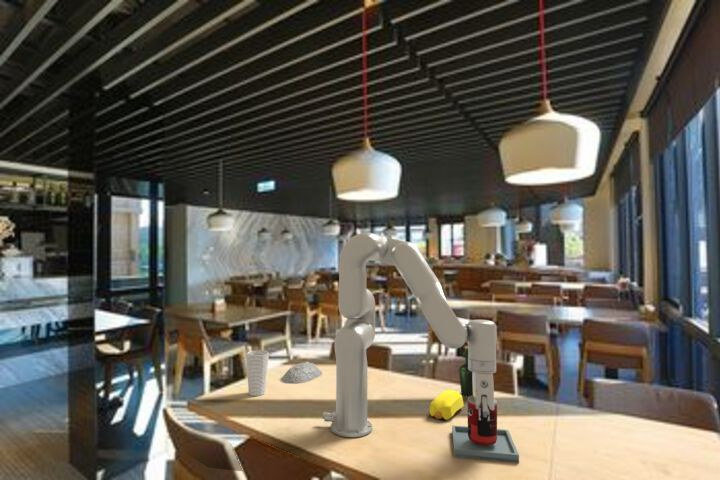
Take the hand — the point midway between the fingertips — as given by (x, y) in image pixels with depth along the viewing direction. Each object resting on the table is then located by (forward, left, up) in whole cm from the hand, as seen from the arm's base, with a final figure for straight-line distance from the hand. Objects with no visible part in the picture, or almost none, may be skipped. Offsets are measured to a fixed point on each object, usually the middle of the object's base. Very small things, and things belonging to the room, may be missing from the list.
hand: (482, 428), depth 114 cm
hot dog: (-9, +24, -5) cm, 26 cm away
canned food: (0, 0, -3) cm, 3 cm away
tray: (0, 0, -5) cm, 5 cm away
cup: (-80, +29, -5) cm, 85 cm away
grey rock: (-71, +56, -6) cm, 90 cm away
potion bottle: (0, +45, -5) cm, 45 cm away
